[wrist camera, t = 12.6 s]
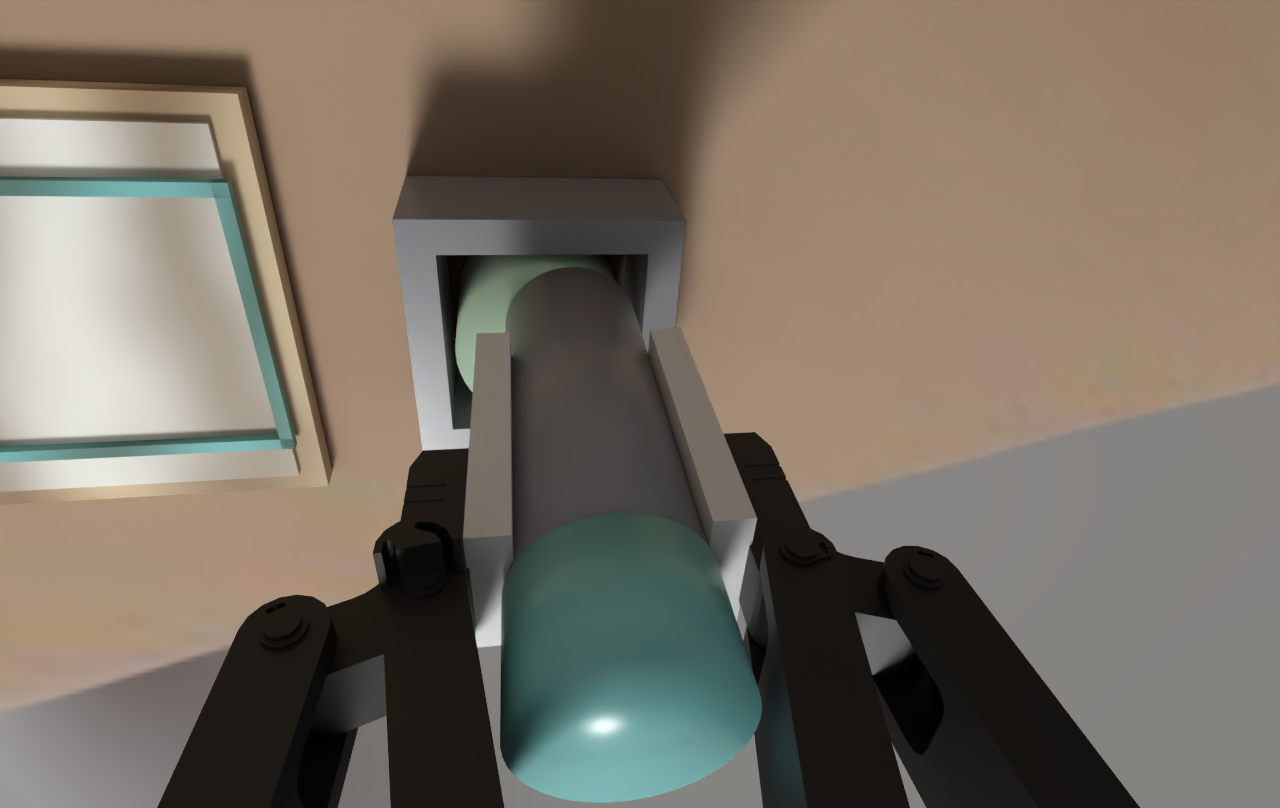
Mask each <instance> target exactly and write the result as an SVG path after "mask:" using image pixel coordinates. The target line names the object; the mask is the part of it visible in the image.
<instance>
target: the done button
mask: <svg viewBox="0 0 1280 808" xmlns="http://www.w3.org/2000/svg"><path fill="white" fill-rule="evenodd" d="M564 267H581V268H587V269H591V270H594V271H598V272H600V273H602V274H604V275H606V276H608V277H609V278H611V279H613V280H614V281H615V278H614V275H613V272H612V268H611V265H610V263H609V261H608V259H607V257H606V255H605V254H595V255H469V256H468V258H467V260H466V262H465V264H464V267H463V270H462V274H461V280H460V290H459V303H458V316H457V329H456V342H455V349H456V359H457V364H458V367H459V370H460V373H461V375H462V377H463V379H464V381H465V383H466V384H467V386H468V387H469V389H470V390H471V391H472V392H473V380H474V365H475V350H476V335H477V333H505V324H506V316H507V312H508V309H509V306H510V304H511V302H512V300H513V298H514V297H515V295H516V294H517V293H518V291H519V290H520V289H521V288H522V287H523V286H524V285H525V284H526V283H528V282H529V281H530V280H532V279H533V278H535V277H536V276H538V275H540V274H542V273H545V272H547V271H550V270H553V269H558V268H564ZM615 282H616V281H615Z"/></svg>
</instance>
